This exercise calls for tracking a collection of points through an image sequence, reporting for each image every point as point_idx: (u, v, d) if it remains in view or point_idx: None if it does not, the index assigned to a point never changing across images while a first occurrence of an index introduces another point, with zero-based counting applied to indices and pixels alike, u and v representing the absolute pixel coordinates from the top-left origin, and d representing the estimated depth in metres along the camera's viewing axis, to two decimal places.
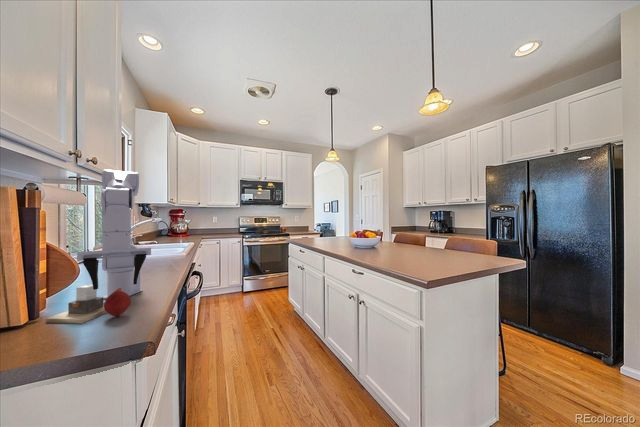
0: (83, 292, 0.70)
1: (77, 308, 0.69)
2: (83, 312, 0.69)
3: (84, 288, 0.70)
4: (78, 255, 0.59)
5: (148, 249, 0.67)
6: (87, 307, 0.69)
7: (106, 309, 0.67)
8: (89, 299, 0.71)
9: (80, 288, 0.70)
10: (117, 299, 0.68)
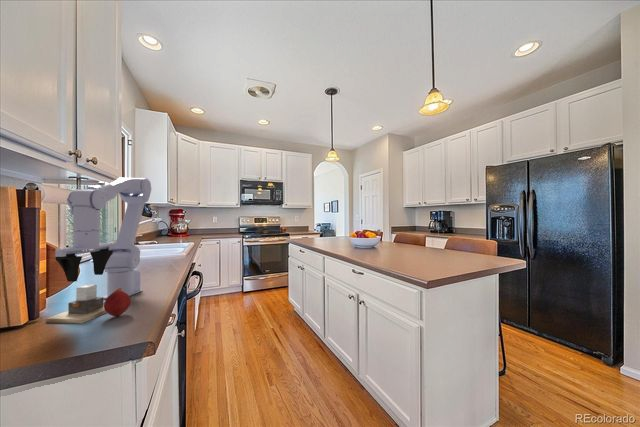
0: (83, 292, 0.70)
1: (77, 308, 0.69)
2: (83, 312, 0.69)
3: (84, 288, 0.70)
4: None
5: None
6: (87, 307, 0.69)
7: (106, 309, 0.67)
8: (89, 299, 0.71)
9: (80, 288, 0.70)
10: (117, 299, 0.68)
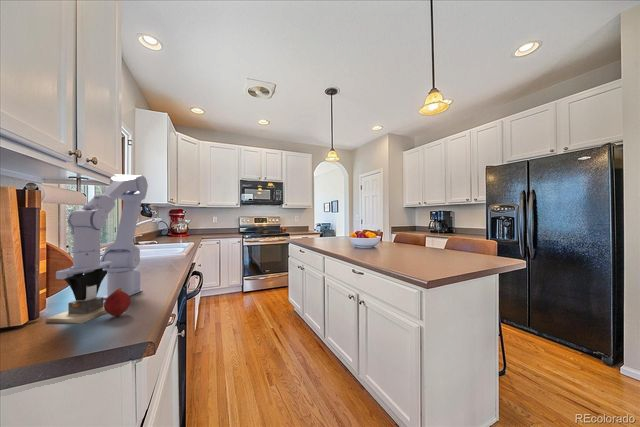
0: None
1: (77, 308, 0.69)
2: (83, 312, 0.69)
3: None
4: None
5: None
6: (87, 307, 0.69)
7: (106, 309, 0.67)
8: (89, 299, 0.71)
9: None
10: (117, 299, 0.68)
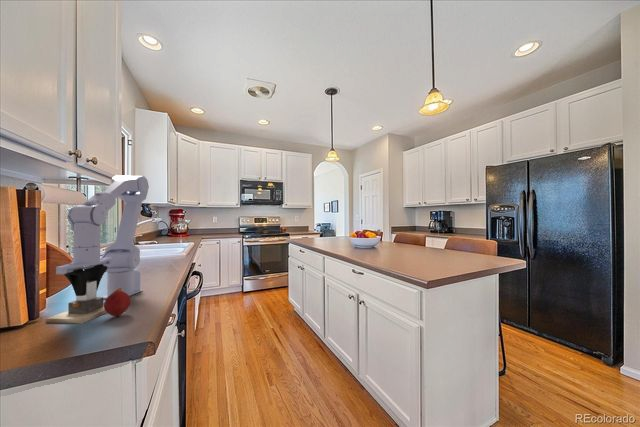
0: None
1: (77, 308, 0.69)
2: (83, 312, 0.69)
3: None
4: None
5: None
6: (87, 307, 0.69)
7: (106, 309, 0.67)
8: (89, 295, 0.71)
9: None
10: (117, 299, 0.68)
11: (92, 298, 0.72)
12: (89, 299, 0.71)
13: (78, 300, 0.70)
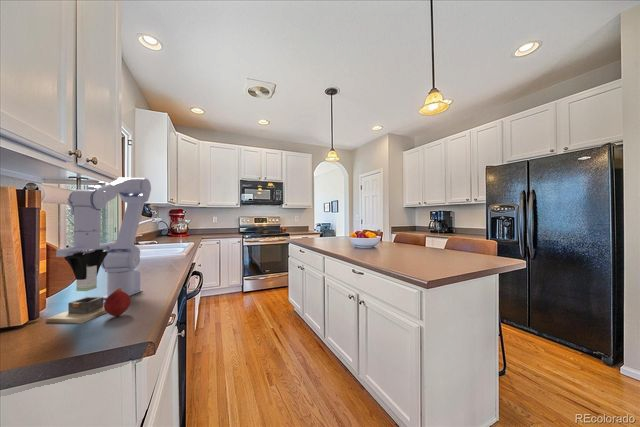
0: None
1: (77, 308, 0.69)
2: (83, 312, 0.69)
3: None
4: None
5: None
6: (87, 307, 0.69)
7: (106, 309, 0.67)
8: (89, 279, 0.71)
9: None
10: (117, 299, 0.68)
11: (92, 283, 0.72)
12: (89, 283, 0.71)
13: (78, 284, 0.70)
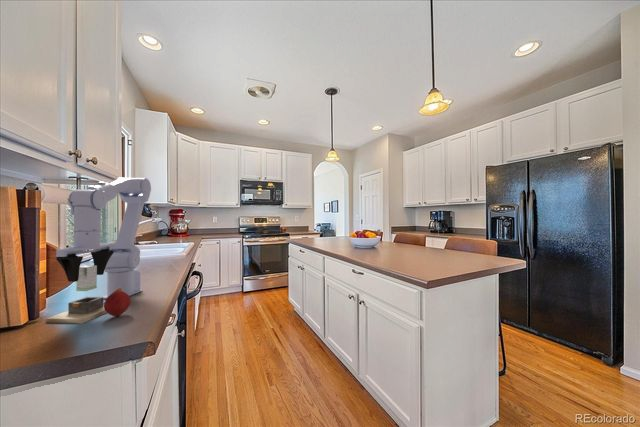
0: (83, 272, 0.70)
1: (77, 308, 0.69)
2: (83, 312, 0.69)
3: (84, 268, 0.70)
4: None
5: None
6: (87, 307, 0.69)
7: (106, 309, 0.67)
8: (89, 279, 0.71)
9: (80, 268, 0.70)
10: (117, 299, 0.68)
11: (92, 282, 0.72)
12: (89, 283, 0.71)
13: (78, 284, 0.70)
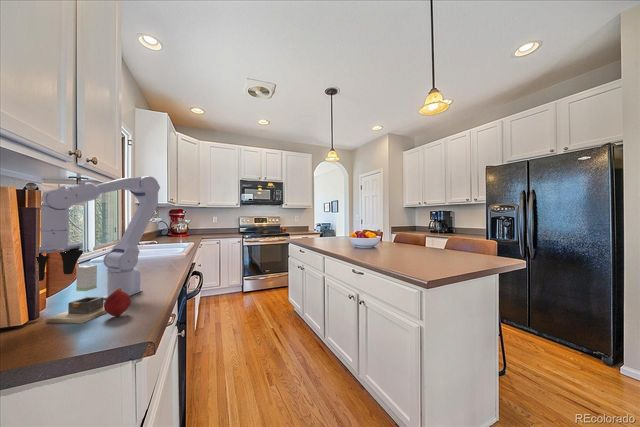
0: (83, 272, 0.70)
1: (77, 308, 0.69)
2: (83, 312, 0.69)
3: (84, 268, 0.70)
4: None
5: None
6: (87, 307, 0.69)
7: (106, 309, 0.67)
8: (89, 279, 0.71)
9: (80, 268, 0.70)
10: (117, 299, 0.68)
11: (92, 282, 0.72)
12: (89, 283, 0.71)
13: (78, 284, 0.70)
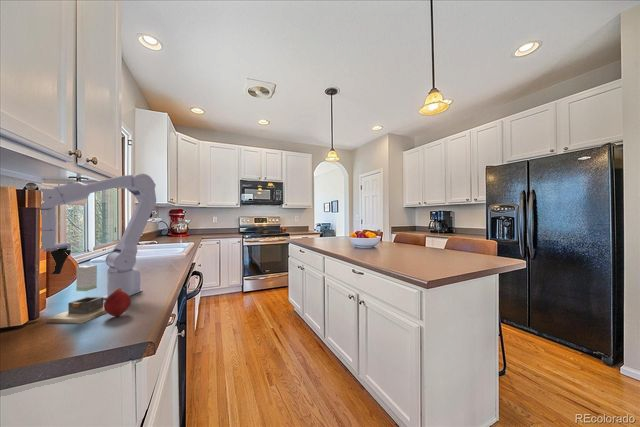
0: (83, 272, 0.70)
1: (77, 308, 0.69)
2: (83, 312, 0.69)
3: (84, 268, 0.70)
4: None
5: None
6: (87, 307, 0.69)
7: (106, 309, 0.67)
8: (89, 279, 0.71)
9: (80, 268, 0.70)
10: (117, 299, 0.68)
11: (92, 282, 0.72)
12: (89, 283, 0.71)
13: (78, 284, 0.70)
